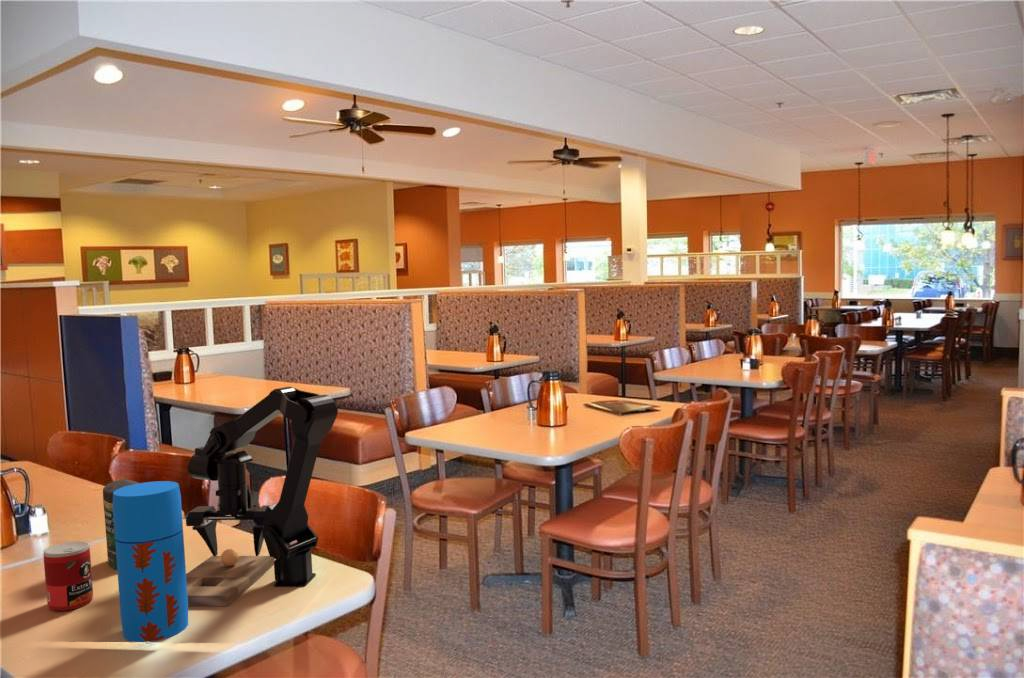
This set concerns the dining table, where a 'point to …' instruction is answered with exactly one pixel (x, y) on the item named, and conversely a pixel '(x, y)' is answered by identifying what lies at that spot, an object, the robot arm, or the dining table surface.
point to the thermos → (150, 560)
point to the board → (224, 579)
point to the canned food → (68, 575)
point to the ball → (229, 557)
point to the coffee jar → (109, 518)
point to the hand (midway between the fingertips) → (236, 555)
